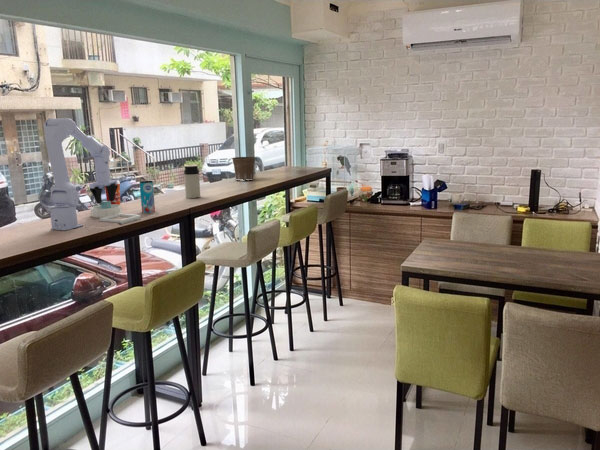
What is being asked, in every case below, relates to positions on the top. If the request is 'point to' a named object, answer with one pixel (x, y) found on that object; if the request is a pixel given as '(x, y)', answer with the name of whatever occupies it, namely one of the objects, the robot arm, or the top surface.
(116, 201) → the paper cup
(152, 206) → the beverage can
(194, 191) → the travel mug
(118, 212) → the bowl
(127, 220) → the tray
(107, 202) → the peg
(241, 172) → the plant pot
